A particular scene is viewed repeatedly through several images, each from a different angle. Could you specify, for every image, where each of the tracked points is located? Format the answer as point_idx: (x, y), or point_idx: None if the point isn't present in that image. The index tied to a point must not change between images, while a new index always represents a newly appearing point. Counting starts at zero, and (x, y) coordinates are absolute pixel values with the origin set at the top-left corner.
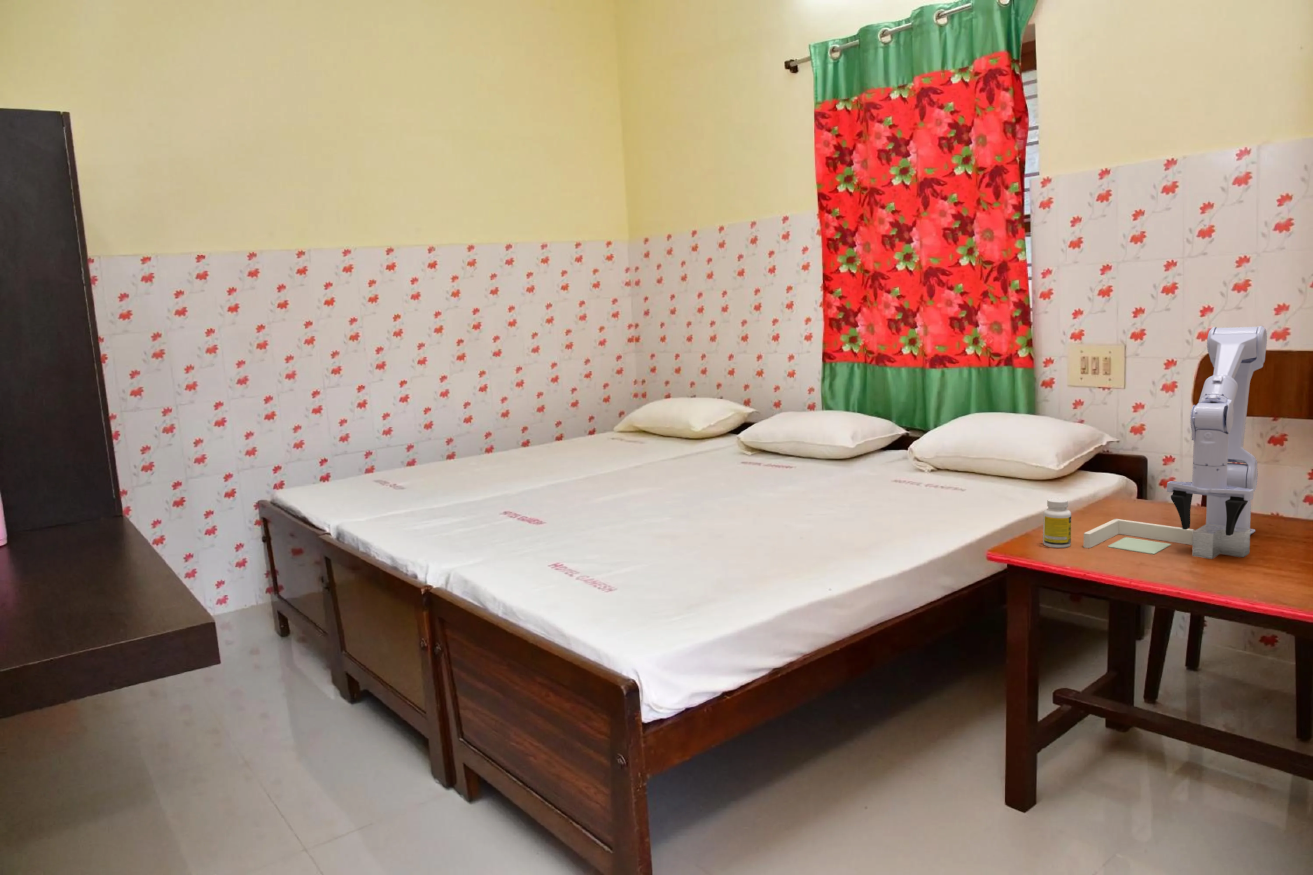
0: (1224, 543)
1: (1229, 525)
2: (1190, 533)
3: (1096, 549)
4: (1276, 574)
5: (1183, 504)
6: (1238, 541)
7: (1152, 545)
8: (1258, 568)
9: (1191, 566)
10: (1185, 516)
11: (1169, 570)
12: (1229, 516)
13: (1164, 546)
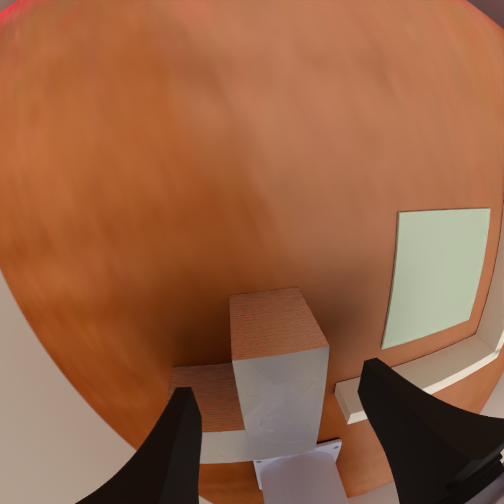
0: (228, 389)
1: (164, 421)
2: (351, 405)
3: (495, 167)
4: (31, 256)
5: (444, 439)
6: None
7: (419, 299)
8: (81, 284)
9: (239, 142)
10: (395, 403)
11: (275, 43)
12: (152, 461)
13: (392, 314)
